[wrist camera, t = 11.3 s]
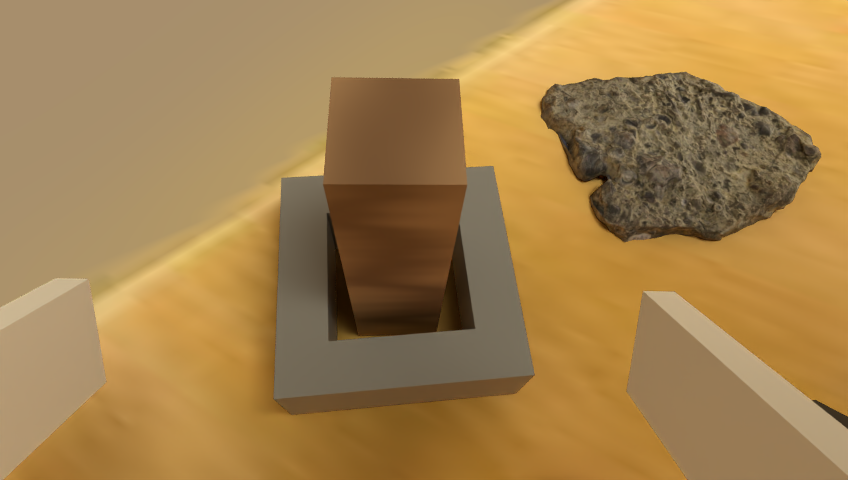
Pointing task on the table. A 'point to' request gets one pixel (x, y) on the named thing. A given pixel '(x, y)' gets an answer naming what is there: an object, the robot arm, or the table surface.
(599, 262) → the table surface
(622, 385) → the table surface
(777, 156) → the stone slab
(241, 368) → the table surface
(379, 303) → the long peg
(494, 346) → the collar
